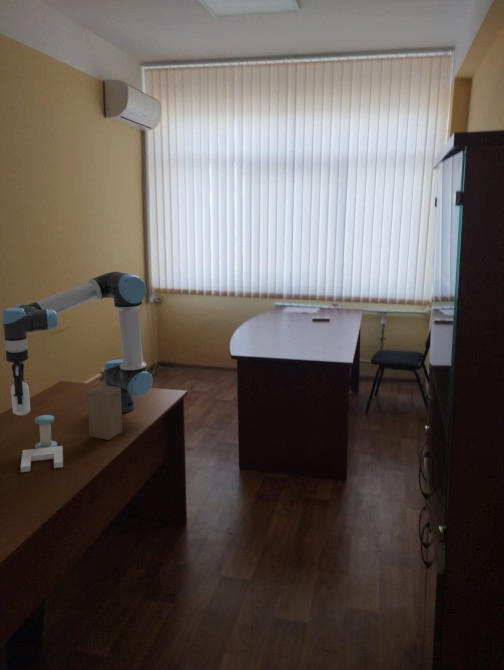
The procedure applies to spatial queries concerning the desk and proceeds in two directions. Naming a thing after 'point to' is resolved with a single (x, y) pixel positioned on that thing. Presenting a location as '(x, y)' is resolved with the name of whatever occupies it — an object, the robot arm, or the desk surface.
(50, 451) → the u-shaped block
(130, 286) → the robot arm
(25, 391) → the beverage can
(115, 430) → the wooden block
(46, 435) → the bobbin
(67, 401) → the desk surface
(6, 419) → the desk surface
